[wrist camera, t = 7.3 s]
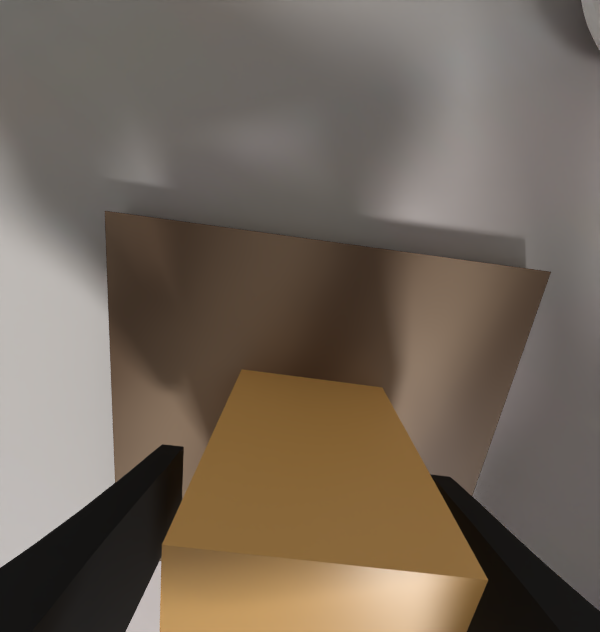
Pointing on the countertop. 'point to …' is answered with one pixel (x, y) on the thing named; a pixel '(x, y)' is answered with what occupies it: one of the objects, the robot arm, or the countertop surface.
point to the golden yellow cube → (314, 521)
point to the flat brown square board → (307, 334)
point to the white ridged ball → (592, 18)
